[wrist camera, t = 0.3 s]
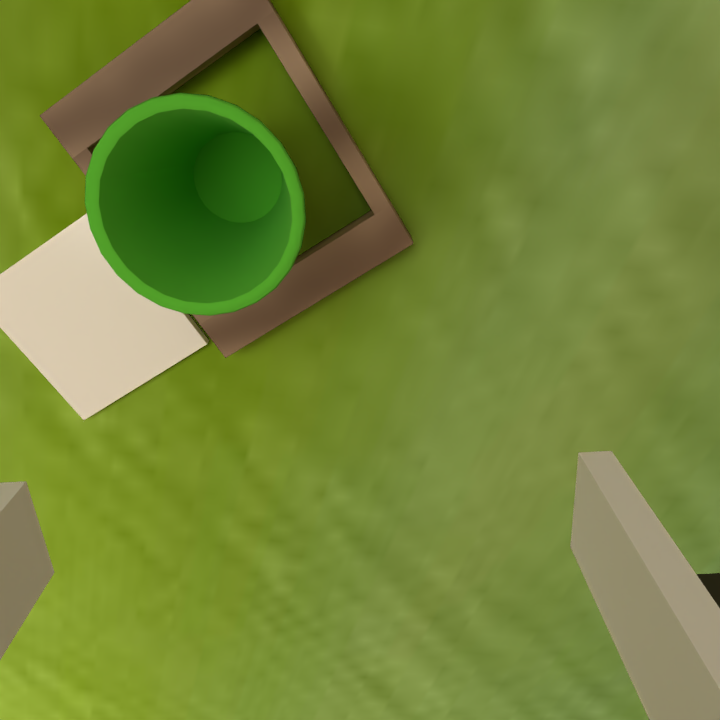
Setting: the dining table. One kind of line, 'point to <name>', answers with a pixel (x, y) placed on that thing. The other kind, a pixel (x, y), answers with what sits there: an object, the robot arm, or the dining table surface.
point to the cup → (195, 204)
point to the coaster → (89, 322)
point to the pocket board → (254, 11)
